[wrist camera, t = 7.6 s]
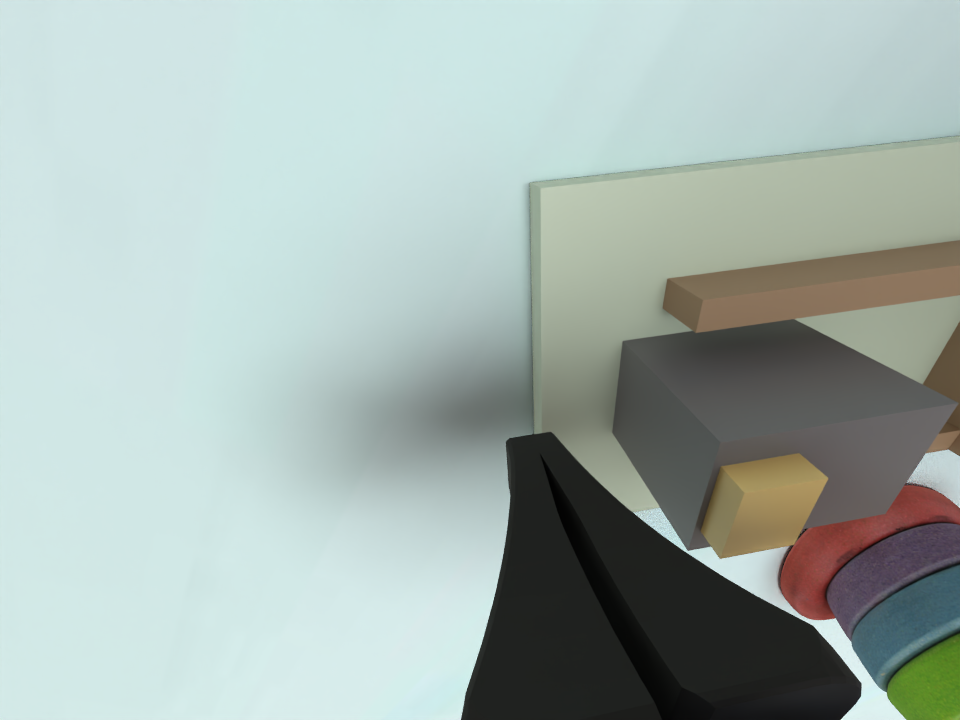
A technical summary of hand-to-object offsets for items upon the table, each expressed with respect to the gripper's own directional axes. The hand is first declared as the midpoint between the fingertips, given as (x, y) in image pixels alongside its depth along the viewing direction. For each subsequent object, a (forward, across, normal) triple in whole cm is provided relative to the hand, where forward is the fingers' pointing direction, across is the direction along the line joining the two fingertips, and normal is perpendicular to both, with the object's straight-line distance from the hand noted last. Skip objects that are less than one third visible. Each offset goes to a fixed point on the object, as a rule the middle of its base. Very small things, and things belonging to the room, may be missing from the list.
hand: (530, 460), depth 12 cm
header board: (+4, -10, 0) cm, 11 cm away
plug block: (+3, -7, 0) cm, 7 cm away
